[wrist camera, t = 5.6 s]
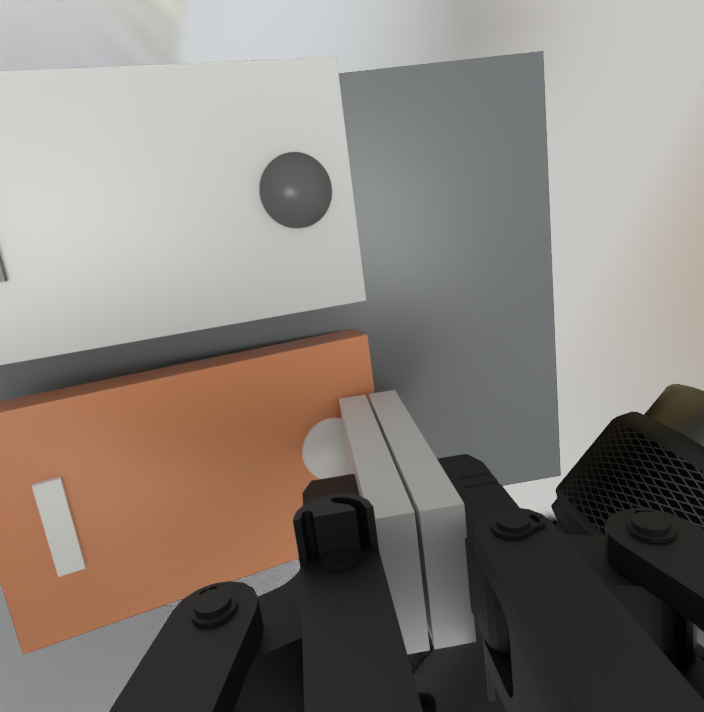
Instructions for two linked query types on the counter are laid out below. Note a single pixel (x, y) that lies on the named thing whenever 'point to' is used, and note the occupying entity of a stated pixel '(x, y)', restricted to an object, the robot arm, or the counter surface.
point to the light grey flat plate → (170, 201)
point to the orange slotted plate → (165, 480)
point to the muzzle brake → (596, 518)
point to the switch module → (422, 266)
